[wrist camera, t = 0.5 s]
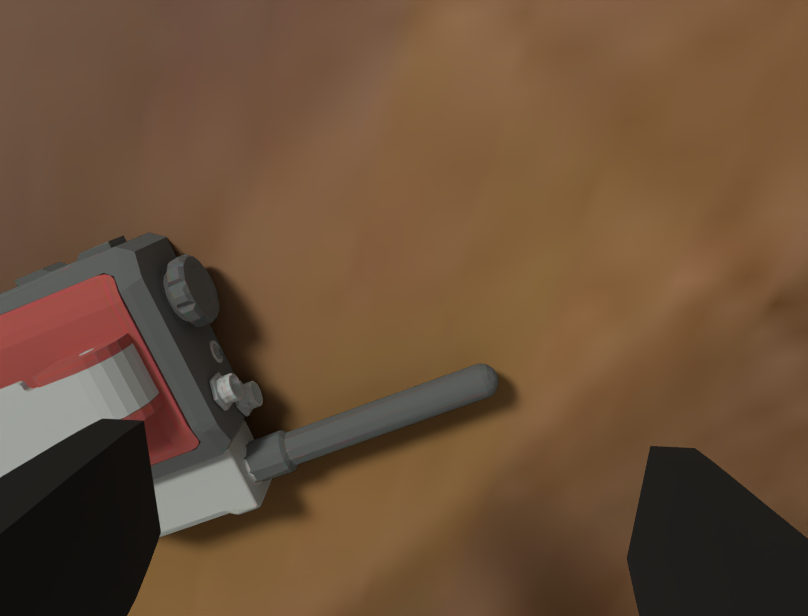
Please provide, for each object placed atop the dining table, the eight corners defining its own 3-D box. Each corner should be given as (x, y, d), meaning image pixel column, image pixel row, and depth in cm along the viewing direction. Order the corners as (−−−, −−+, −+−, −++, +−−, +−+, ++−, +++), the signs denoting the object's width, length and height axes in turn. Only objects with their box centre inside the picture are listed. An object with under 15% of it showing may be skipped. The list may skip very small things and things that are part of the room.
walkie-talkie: (-35, 581, 23) (504, 389, 21) (-136, 683, 19) (525, 458, 17) (-181, 361, 21) (401, 120, 19) (-331, 422, 17) (395, 121, 15)
